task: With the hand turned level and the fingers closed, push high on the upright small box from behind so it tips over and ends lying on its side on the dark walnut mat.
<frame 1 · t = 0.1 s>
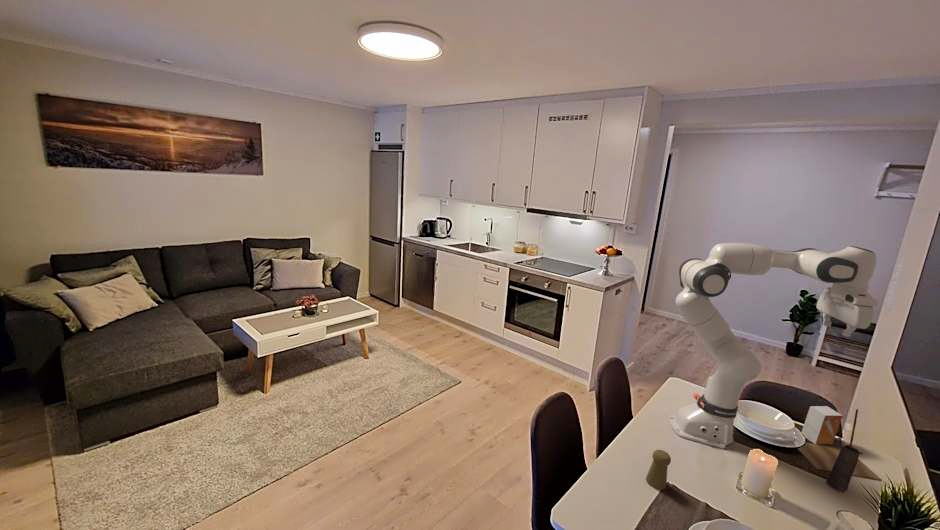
hand: (835, 330, 140), 48 cm above the table, tool pointing down, fingers open, 8 cm apart
butter churn: (840, 489, 132), on the table
small box: (816, 439, 158), on the table
walnut mat: (832, 459, 146), on the table
olive pepper mill: (655, 482, 128), on the table
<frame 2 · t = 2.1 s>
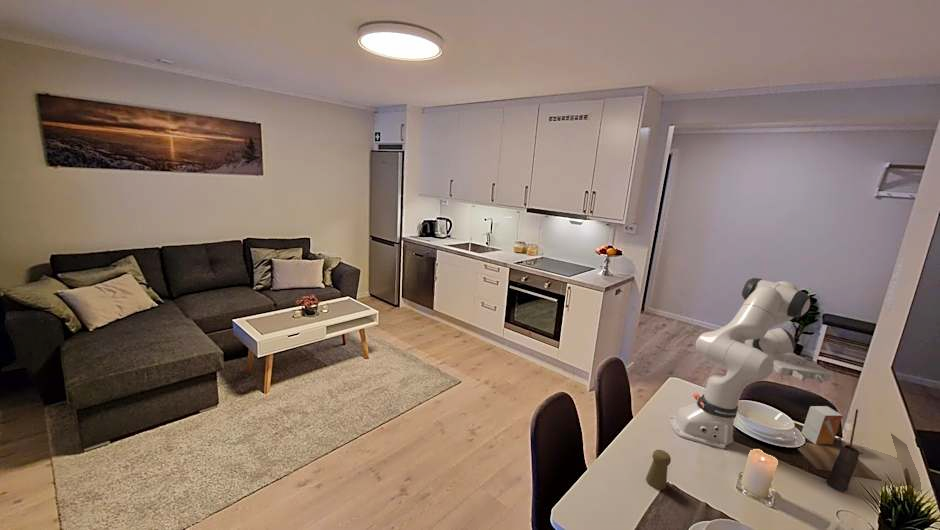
hand: (812, 380, 164), 20 cm above the table, tool horizontal, fingers open, 5 cm apart
nothing on the table moved.
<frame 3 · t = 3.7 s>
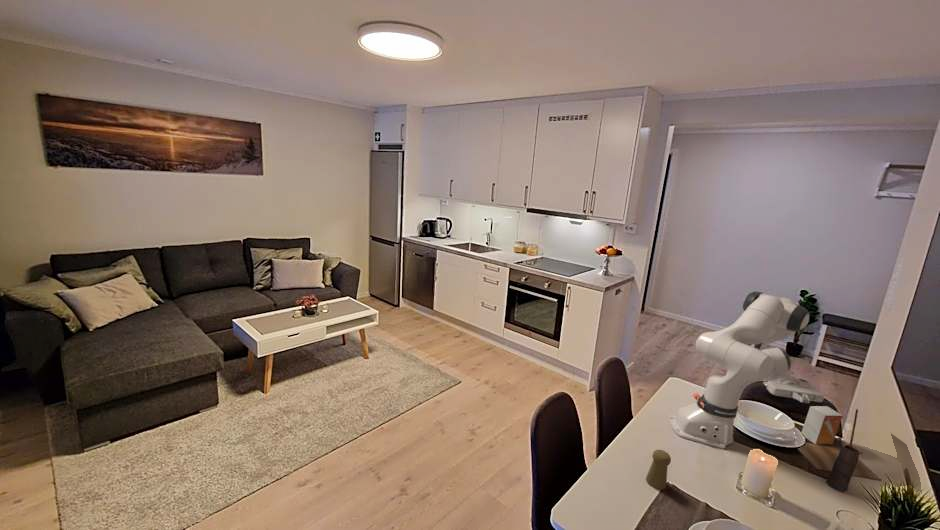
hand: (805, 401, 166), 10 cm above the table, tool horizontal, fingers closed
nothing on the table moved.
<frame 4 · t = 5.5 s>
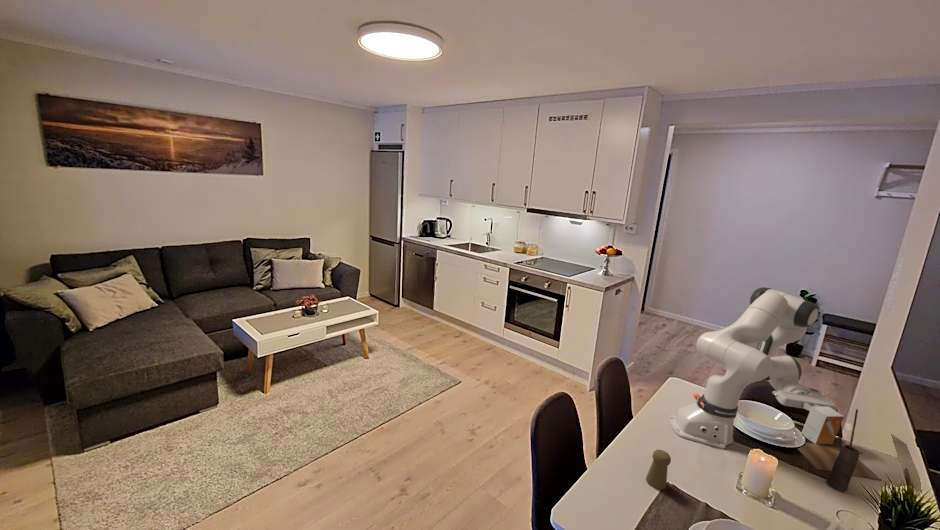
hand: (817, 412, 158), 10 cm above the table, tool horizontal, fingers closed
small box: (816, 439, 158), on the table, touching gripper
everything else where it was.
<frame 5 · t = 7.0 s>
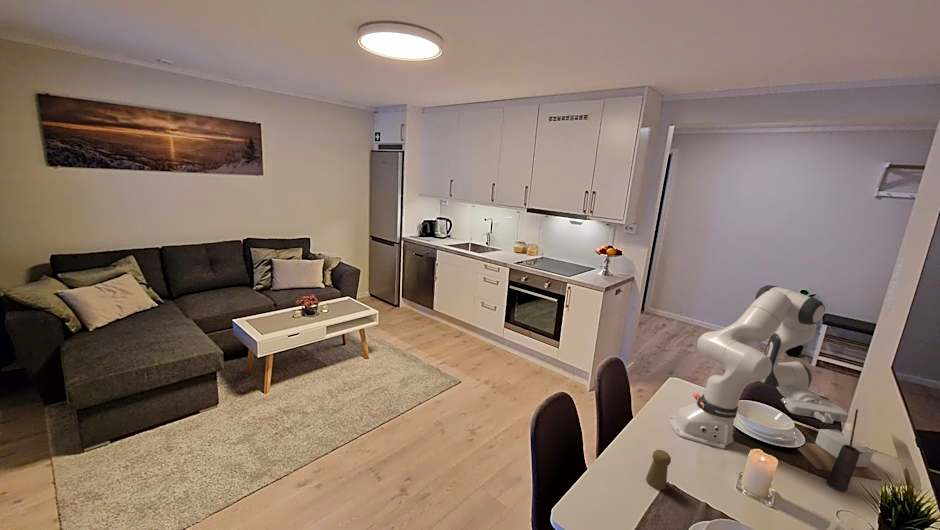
hand: (828, 421, 153), 10 cm above the table, tool horizontal, fingers closed
small box: (825, 435, 154), point 4 cm above the table, touching walnut mat
everything else where it was.
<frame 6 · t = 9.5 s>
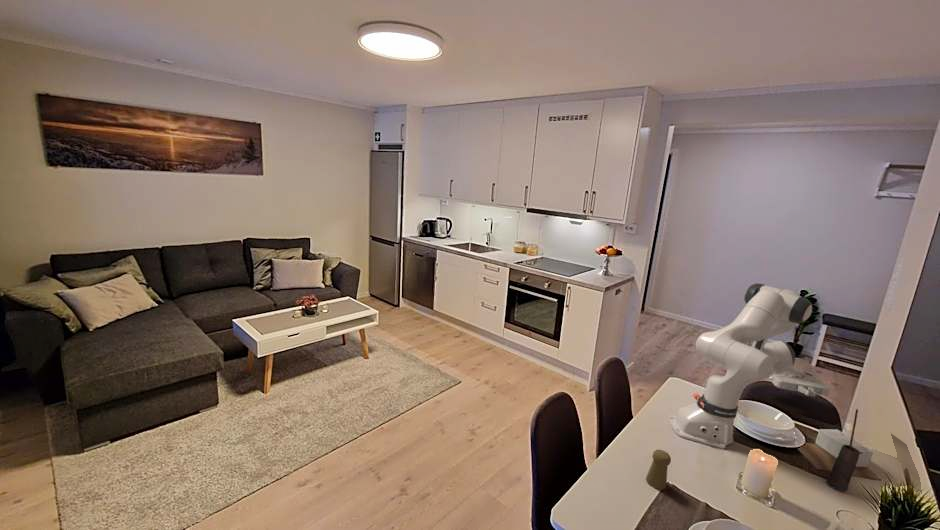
hand: (811, 394, 163), 15 cm above the table, tool horizontal, fingers closed
nothing on the table moved.
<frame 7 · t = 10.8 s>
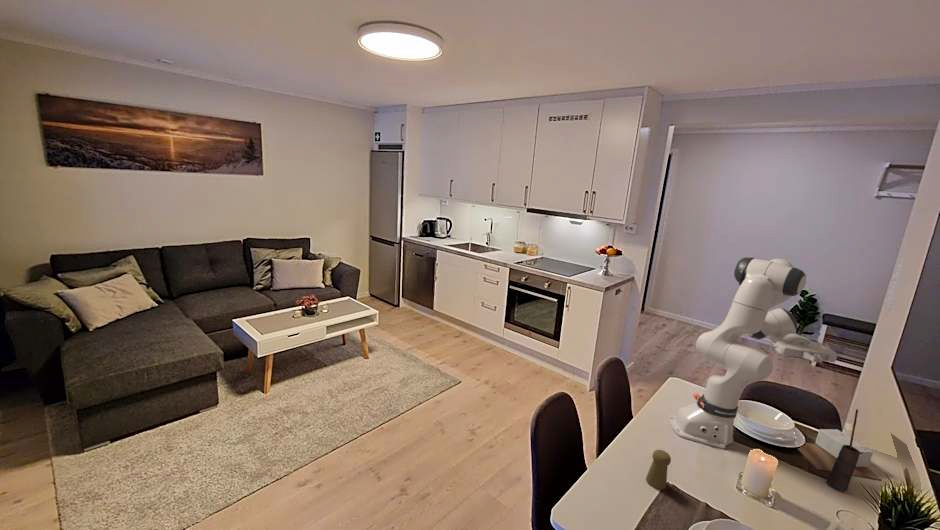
hand: (817, 360, 154), 32 cm above the table, tool horizontal, fingers closed
nothing on the table moved.
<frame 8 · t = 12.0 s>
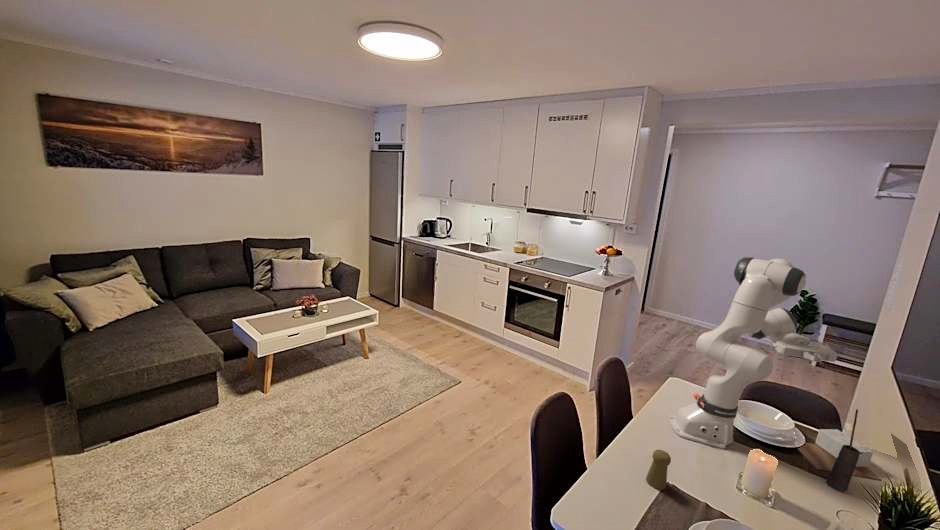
hand: (817, 360, 154), 32 cm above the table, tool horizontal, fingers closed
nothing on the table moved.
at the end: small box tilted 89°; small box touching walnut mat; the gripper is holding nothing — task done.
